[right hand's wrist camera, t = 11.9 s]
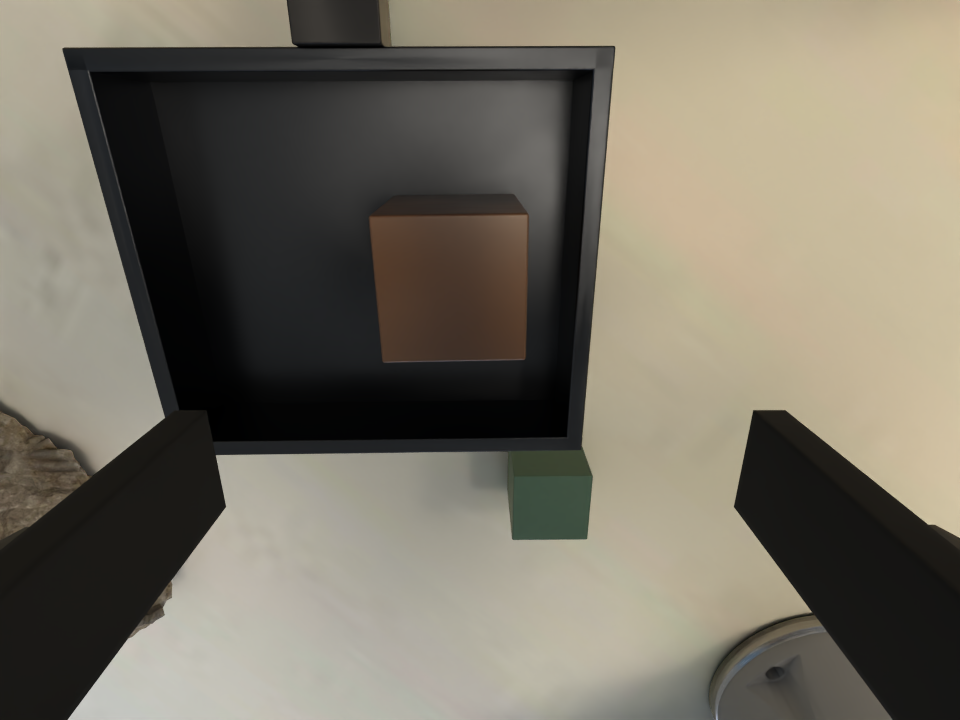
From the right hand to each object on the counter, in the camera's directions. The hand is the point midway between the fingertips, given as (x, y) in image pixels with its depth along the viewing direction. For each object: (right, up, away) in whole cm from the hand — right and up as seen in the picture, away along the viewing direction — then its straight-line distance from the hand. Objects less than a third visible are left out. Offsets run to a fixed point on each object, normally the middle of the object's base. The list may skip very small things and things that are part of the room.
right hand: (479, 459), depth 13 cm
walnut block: (-1, +6, +7) cm, 9 cm away
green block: (+4, -4, +22) cm, 22 cm away
